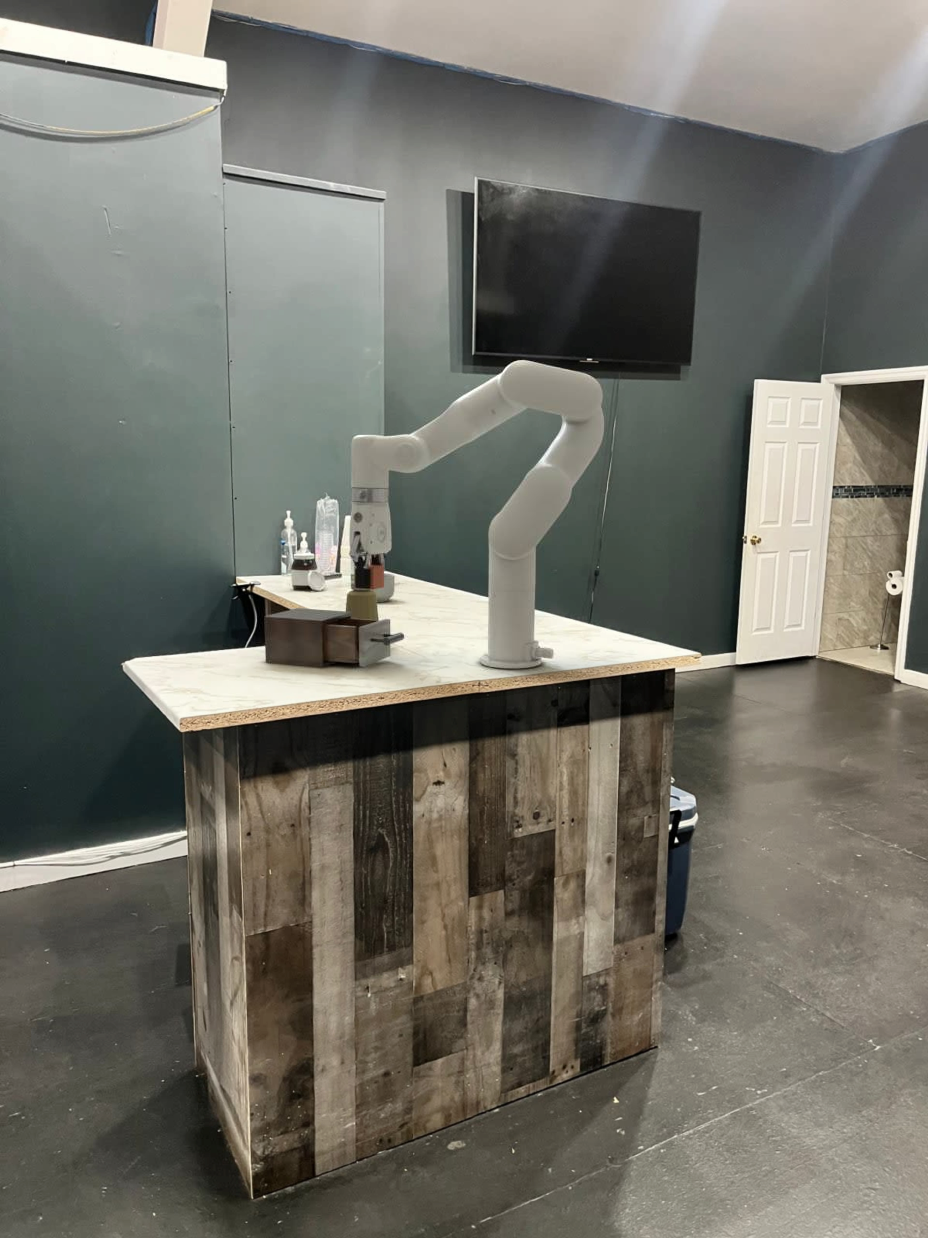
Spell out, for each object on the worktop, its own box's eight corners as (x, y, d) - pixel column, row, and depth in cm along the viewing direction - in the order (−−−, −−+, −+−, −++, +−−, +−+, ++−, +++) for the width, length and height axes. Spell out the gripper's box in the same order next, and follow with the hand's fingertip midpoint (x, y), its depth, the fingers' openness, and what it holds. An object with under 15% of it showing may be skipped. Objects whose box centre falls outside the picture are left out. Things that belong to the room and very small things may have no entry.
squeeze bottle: (373, 648, 205) (373, 568, 202) (339, 647, 207) (338, 567, 204) (384, 642, 213) (383, 564, 210) (350, 640, 214) (349, 563, 212)
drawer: (409, 657, 191) (409, 620, 189) (384, 668, 180) (384, 629, 179) (338, 651, 197) (337, 615, 196) (310, 661, 186) (309, 623, 185)
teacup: (402, 600, 283) (401, 574, 282) (380, 604, 274) (380, 577, 273) (366, 596, 290) (366, 571, 289) (344, 600, 281) (343, 574, 280)
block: (384, 587, 190) (384, 565, 189) (373, 589, 186) (373, 567, 185) (364, 585, 192) (365, 564, 191) (354, 588, 188) (354, 566, 187)
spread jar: (298, 587, 314) (297, 552, 313) (330, 587, 313) (330, 553, 311) (286, 591, 303) (286, 556, 301) (320, 592, 301) (319, 556, 299)
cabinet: (353, 656, 196) (352, 611, 195) (322, 667, 185) (321, 620, 183) (298, 651, 201) (297, 608, 200) (265, 662, 190) (264, 616, 188)
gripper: (365, 498, 177) (364, 592, 180) (405, 497, 192) (404, 584, 195) (331, 497, 180) (331, 590, 183) (373, 496, 195) (373, 581, 198)
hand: (369, 585), depth 189 cm, fingers closed on block, 4 cm apart
